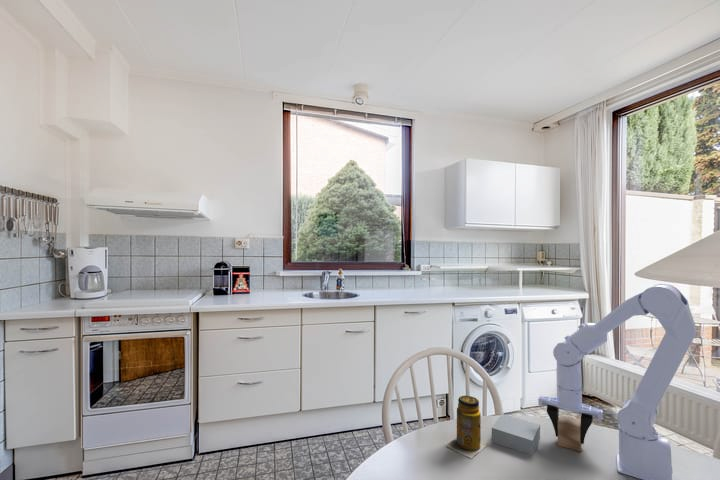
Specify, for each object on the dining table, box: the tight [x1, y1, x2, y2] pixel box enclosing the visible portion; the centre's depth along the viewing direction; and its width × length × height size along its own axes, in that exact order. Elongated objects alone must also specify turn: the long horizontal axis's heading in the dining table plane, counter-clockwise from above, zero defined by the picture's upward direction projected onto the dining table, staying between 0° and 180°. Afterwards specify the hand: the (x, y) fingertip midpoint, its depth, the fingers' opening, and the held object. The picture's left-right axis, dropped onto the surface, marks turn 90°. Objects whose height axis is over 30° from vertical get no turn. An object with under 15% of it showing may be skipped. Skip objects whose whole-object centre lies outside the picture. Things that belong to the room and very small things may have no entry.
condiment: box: [445, 395, 488, 459], centre depth 90 cm, size 7×8×12 cm
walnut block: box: [557, 414, 582, 452], centre depth 90 cm, size 5×5×6 cm
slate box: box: [491, 413, 541, 456], centre depth 93 cm, size 10×10×4 cm
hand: (569, 438), depth 90 cm, fingers closed on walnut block, 5 cm apart
